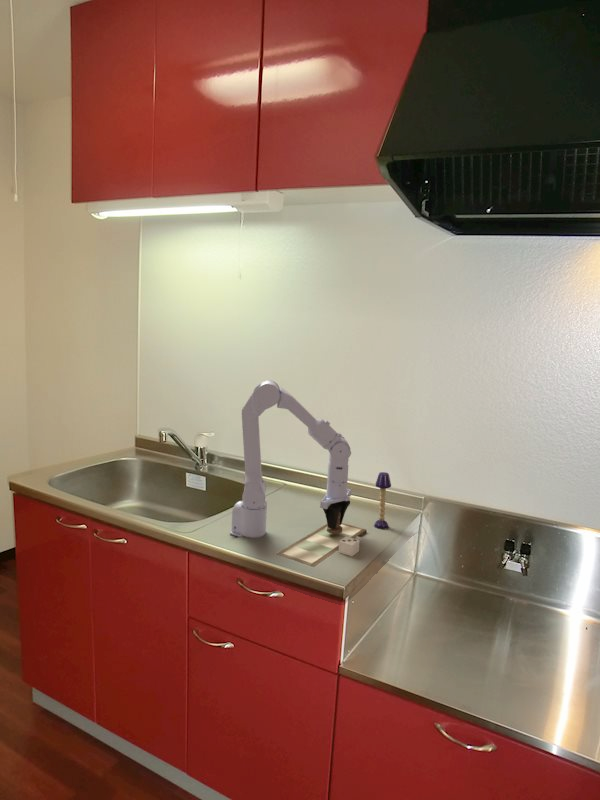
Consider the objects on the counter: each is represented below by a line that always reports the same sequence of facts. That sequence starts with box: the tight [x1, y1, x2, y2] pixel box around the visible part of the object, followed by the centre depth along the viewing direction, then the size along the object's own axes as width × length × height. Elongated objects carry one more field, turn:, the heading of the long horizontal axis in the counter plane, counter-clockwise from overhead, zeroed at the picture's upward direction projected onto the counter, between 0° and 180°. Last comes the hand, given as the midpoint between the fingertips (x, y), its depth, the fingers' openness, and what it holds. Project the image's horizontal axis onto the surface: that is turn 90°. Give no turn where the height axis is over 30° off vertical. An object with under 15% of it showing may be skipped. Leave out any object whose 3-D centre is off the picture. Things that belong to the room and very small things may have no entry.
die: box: [337, 536, 360, 557], centre depth 138 cm, size 4×4×4 cm
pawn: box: [327, 512, 342, 534], centre depth 148 cm, size 4×4×6 cm
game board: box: [276, 522, 367, 568], centre depth 144 cm, size 11×30×1 cm, turn 147°
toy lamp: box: [373, 471, 392, 530], centre depth 158 cm, size 5×5×17 cm
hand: (334, 526), depth 149 cm, fingers closed on pawn, 3 cm apart
